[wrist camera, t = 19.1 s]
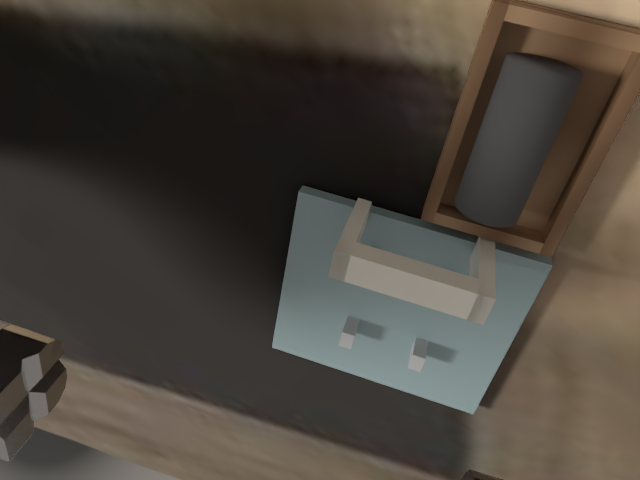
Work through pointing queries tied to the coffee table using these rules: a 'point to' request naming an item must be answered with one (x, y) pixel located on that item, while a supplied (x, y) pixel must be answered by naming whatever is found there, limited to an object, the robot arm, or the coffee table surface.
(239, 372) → the coffee table surface
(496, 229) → the tray
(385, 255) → the u-shaped staple bracket
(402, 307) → the clip board
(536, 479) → the coffee table surface
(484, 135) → the dark grey rounded bar
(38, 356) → the robot arm
